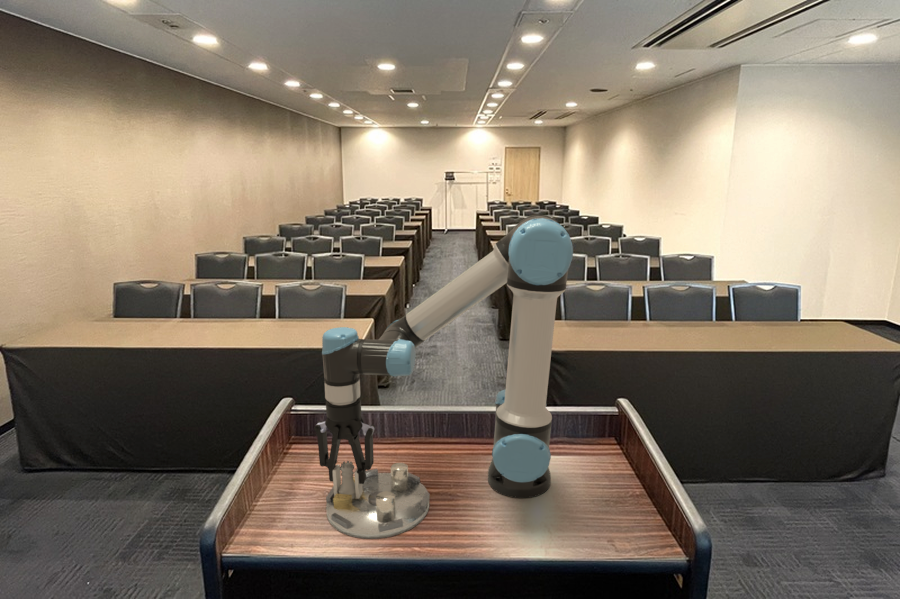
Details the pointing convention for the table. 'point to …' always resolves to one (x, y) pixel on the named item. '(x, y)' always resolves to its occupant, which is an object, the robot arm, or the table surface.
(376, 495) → the carrier plate
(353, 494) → the rook chess piece
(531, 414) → the robot arm
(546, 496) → the table surface
